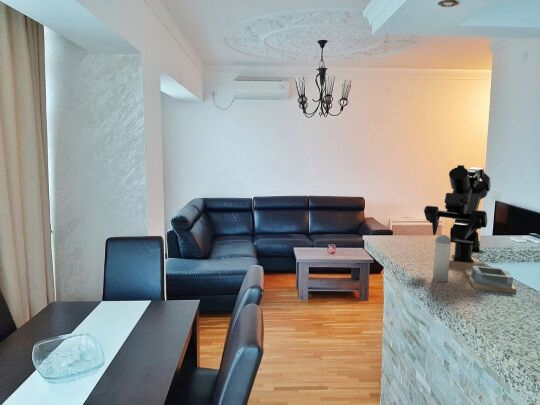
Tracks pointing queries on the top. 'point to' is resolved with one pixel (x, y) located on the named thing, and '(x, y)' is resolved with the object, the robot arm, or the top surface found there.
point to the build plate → (477, 249)
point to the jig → (490, 279)
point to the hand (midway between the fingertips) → (448, 236)
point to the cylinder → (441, 258)
